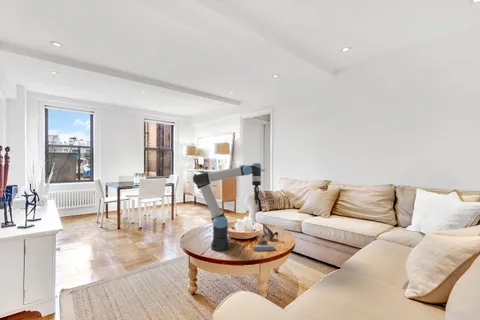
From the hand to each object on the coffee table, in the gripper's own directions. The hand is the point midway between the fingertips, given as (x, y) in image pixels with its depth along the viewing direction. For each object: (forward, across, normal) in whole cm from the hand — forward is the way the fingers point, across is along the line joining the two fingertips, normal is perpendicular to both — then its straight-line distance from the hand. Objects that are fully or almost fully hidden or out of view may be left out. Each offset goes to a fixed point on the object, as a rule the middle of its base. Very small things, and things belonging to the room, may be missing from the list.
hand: (256, 207), depth 206 cm
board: (+29, -20, -4) cm, 35 cm away
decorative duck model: (+29, +1, -15) cm, 33 cm away
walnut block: (+29, -14, -4) cm, 33 cm away
